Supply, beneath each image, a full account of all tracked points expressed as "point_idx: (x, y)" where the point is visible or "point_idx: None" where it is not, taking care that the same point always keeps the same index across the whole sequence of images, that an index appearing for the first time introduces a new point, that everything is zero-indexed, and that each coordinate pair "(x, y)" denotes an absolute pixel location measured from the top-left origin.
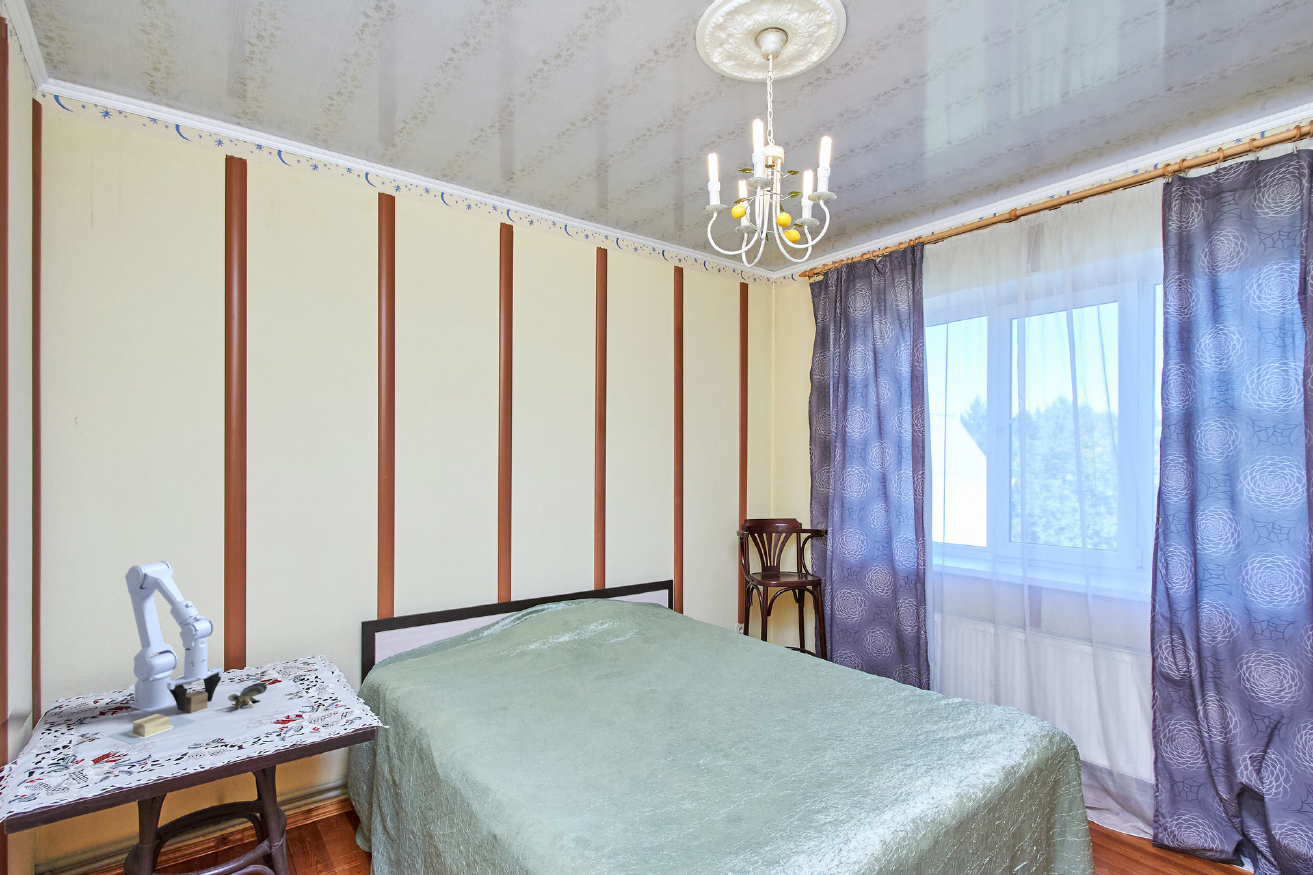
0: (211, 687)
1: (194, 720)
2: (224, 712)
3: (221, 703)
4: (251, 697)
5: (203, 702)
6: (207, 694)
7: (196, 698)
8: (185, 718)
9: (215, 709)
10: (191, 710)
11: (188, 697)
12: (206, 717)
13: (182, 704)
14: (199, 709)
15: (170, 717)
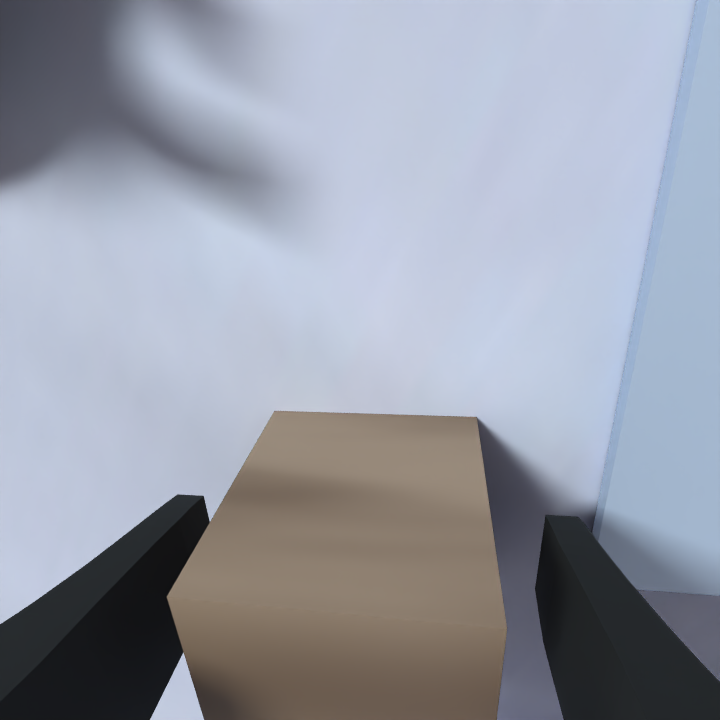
0: (34, 688)
1: (704, 29)
2: (185, 9)
3: (102, 422)
4: None
5: (296, 477)
6: (187, 564)
7: (398, 573)
8: (664, 298)
9: (220, 294)
10: (476, 448)
11: (496, 692)
12: (460, 63)
13: (629, 589)
14: (366, 429)
15: (688, 516)
